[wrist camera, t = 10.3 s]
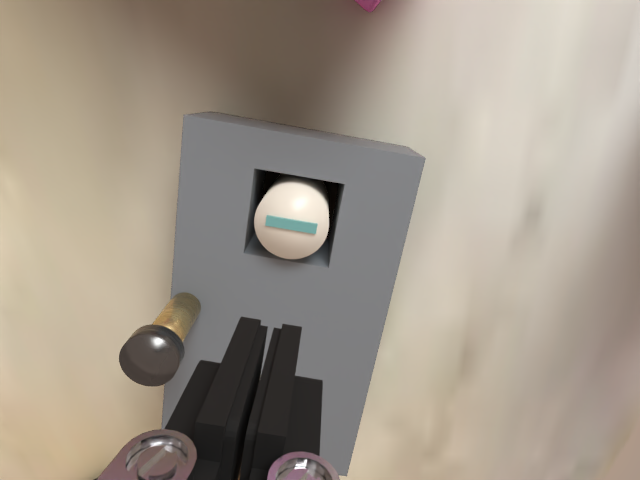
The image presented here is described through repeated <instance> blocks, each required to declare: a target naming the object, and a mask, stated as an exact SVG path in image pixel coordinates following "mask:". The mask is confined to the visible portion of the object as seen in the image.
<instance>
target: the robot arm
mask: <svg viewBox="0 0 640 480" xmlns="http://www.w3.org/2000/svg"><path fill="white" fill-rule="evenodd" d="M267 329H268V326H262V325H261V320H259V319H253V318H247V317H240V320H239V322H238V324H237V327H236V329H235V331H234V334H233V336H232V338H231V341H230V343H229V345H228V348H227V350H226V352H225V355H224V357H223V359H222V362H221V363H218V362H212V361H206V360H200V361H199V363H198V364H197V366H196V368H195V370H194V372H193V374H192V376H191V378H190V380H189V382H188V384H187V386H186V388H185V390H184V392H183V394H182V396H181V397H180V399H179V401H178V403H177V405H176V407H175V409H174V411H173V413H172V415H171V417H170V419H169V421H168V423H167V425H166V427H165V429H161V430H152V431H149V432H145V433H142V434H140V435H139V436H137V437H135V438H133V439H132V440H131V441H129V442H128V443H127V444H126V445H125V446H124V447H123V448H122V449H121V451H120V452H119V453H118V454H117V455H116V457H115V458H114V459H113V460H112V462H111V463H110V464H109V465H108V466H107V468H106V469H105V470H104V471H103V473H102V474H101V475H100V476H99V477H98V478H97V479H95V480H238V478H239V480H340V479H339V476H338V473H337V472H336V470H335V469H334V468H333V466H332V465H331V464H330V463H329V462H327V461H326V460H325V459H324V458H322V457H320V435H321V413H322V391H323V381H322V380H319V379H313V378H307V377H301V376H295V373H296V366H297V359H298V352H299V345H300V338H301V331H302V327H300V326H294V325H288V324H282V328H281V329H280V328H274V329H273V332H272V336H271V340H270V344H269V347H268V351H267V355H266V359H265V362H264V366H263V370H262V374H261V369H262V363H263V356H264V349H265V343H266V336H267ZM260 376H261V377H260ZM240 470H241V471H240ZM239 474H240V477H239Z"/></svg>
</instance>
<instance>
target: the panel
mask: <svg viewBox="0 0 640 480" xmlns="http://www.w3.org/2000/svg"><path fill="white" fill-rule="evenodd" d="M424 162H425V157H423V156H421V155H420V154H418V153H417V152H415V151H413V150H412V149H410V148H409V147H406V146H401V145H395V144H389V143H384V142H378V141H373V140H367V139H361V138H356V137H350V136H345V135H339V134H334V133H328V132H322V131H317V130H311V129H306V128H300V127H294V126H289V125H283V124H278V123H272V122H267V121H261V120H255V119H250V118H244V117H239V116H233V115H227V114H222V113H216V112H203V113H195V114H187V115H184V118H183V132H182V147H181V161H180V175H179V189H178V203H177V217H176V231H175V245H174V259H173V273H172V288H171V299H172V298H173V297H174V296H175V295H176V294H178V293H182V292H186V293H190V294H192V295H194V296H195V297H196V298H197V299H198V300H199V302H200V304H201V311H200V313H199V315H198V317H197V318H196V320H195V322H194V324H193V325H192V327H191V329H190V330H189V332H188V334H187V336H186V337H185V339H184V341H183V345H184V350H185V354H184V358H183V360H182V362H181V364H180V366H179V368H178V370H177V372H176V373H175V375H174V377H173V378H172V379H171V380H170V381H169V382H167V383H165V386H164V400H163V415H162V429H165V427H166V425H167V423H168V421H169V419H170V417H171V415H172V413H173V411H174V409H175V407H176V405H177V403H178V401H179V399H180V397H181V396H182V394H183V392H184V390H185V388H186V386H187V384H188V382H189V380H190V378H191V376H192V374H193V372H194V370H195V368H196V366H197V364H198V363H199V361H200V360H206V361H212V362H218V363H221V362H222V359H223V357H224V355H225V352H226V350H227V348H228V345H229V343H230V341H231V338H232V336H233V334H234V331H235V329H236V327H237V324H238V322H239V320H240V317H247V318H253V319H259V320H261V325H262V326H268V329H267V336H266V343H265V349H264V356H263V363H262V369H261V374H262V370H263V366H264V362H265V359H266V355H267V351H268V347H269V344H270V340H271V336H272V332H273V329H274V328H280V329H281V328H282V324H288V325H294V326H300V327H302V331H301V338H300V345H299V352H298V359H297V366H296V373H295V376H301V377H307V378H313V379H319V380H322V381H323V391H322V413H321V435H320V457H322V458H324V459H325V460H326V461H327V462H329V463H330V464H331V465H332V466H333V468H334V469H335V470H336V472H337V473H338V475H342V476H347V473H348V469H349V465H350V461H351V457H352V453H353V449H354V445H355V441H356V437H357V433H358V429H359V425H360V421H361V417H362V413H363V409H364V405H365V401H366V397H367V393H368V388H369V384H370V380H371V376H372V372H373V368H374V364H375V360H376V356H377V352H378V348H379V344H380V340H381V336H382V332H383V328H384V324H385V320H386V316H387V312H388V308H389V304H390V300H391V296H392V292H393V288H394V284H395V280H396V275H397V271H398V267H399V263H400V259H401V255H402V251H403V247H404V243H405V239H406V235H407V231H408V227H409V223H410V219H411V215H412V211H413V207H414V203H415V199H416V195H417V191H418V187H419V183H420V179H421V175H422V171H423V167H424ZM266 170H267V171H273V172H278V173H284V174H290V175H296V176H301V177H307V178H313V179H318V180H324V181H330V182H336V183H339V185H338V190H337V196H336V201H335V206H334V212H333V217H332V222H331V227H330V233H329V238H326V239H325V241H324V243H323V244H322V245H321V247H320V248H319V249H318V250H317V251H315V252H314V253H313V254H311V255H309V256H307V257H304V258H300V259H285V258H281V257H278V256H276V255H274V254H272V253H271V252H269V251H268V250H267V249H266V248H265V247H264V246H263V245H262V244H261V242H260V241H259V239H258V237H257V235H256V232H255V227H254V217H255V213H256V210H257V207H258V206H259V204H260V202H261V201H262V193H263V186H264V178H265V171H266Z"/></svg>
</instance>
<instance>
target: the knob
mask: <svg viewBox="0 0 640 480" xmlns="http://www.w3.org/2000/svg"><path fill="white" fill-rule="evenodd" d="M254 227H255V232H256V235H257V237H258V239H259V241H260V242H261V244H262V245H263V246H264V247H265V248H266V249H267V250H268V251H269V252H271V253H272V254H274V255H276V256H278V257H281V258H285V259H300V258H304V257H307V256H309V255H311V254H313V253H314V252H315V251H317V250H318V249H319V248H320V247H321V245H322V244H323V243H324V241H325V239H326V237H327V234H328V230H329V196H328V191H327V188H326V186H325V184H324V183H323V181H322V180H318V179H313V178H307V177H301V176H296V175H290V174H284V173H282V174H281V175H279V176H278V177H277V178H276V179H275V180H274V182H273V183H272V185H271V186H270V188H269V190H268V191H267V193H266V194H265V196H264V197H263V199H262V201H261V202H260V204H259V206H258V207H257V210H256V213H255V217H254Z"/></svg>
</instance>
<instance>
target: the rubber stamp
mask: <svg viewBox="0 0 640 480" xmlns="http://www.w3.org/2000/svg"><path fill="white" fill-rule="evenodd" d="M200 311H201V304H200V302H199V300H198V299H197V298H196V297H195V296H194V295H192V294H190V293H186V292H182V293H178V294H176V295H175V296H174V297H173V298H172V299H171V300H170V302H169V303H168V304H167V306H166V307H165V308H164V310H163V311H162V312H161V313H160V315H159V316H158V317H157V319H156V320H155V321H154V323H153V324H152V325H146V326H143V327H141V328H139V329H137V330H136V331H135V332H134V333H133V334H132V336H131V337H130V338H129V339H128V341H127V342H126V343H125V344H124V346H123V347H122V349H121V351H120V354H119V362H120V365H121V368H122V370H123V371H124V373H125V374H126V375H127V376H128V377H129V378H130V379H131V380H133V381H134V382H136V383H138V384H141V385H145V386H160V385H163V384H165V383H167V382H169V381H170V380H171V379H172V378H173V377H174V375H175V373H176V372H177V370H178V368H179V366H180V364H181V362H182V360H183V358H184V354H185V350H184V345H183V341H184V339H185V337H186V336H187V334H188V332H189V330H190V329H191V327H192V325H193V324H194V322H195V320H196V318H197V317H198V315H199V313H200Z"/></svg>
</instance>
